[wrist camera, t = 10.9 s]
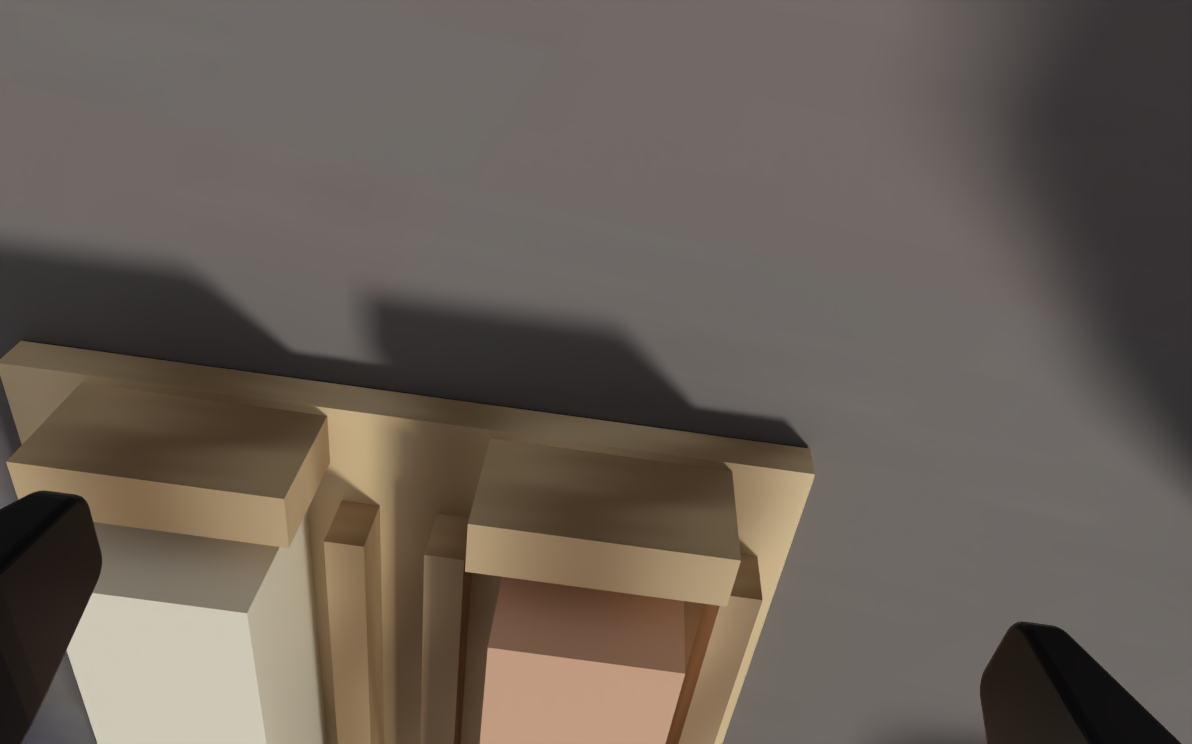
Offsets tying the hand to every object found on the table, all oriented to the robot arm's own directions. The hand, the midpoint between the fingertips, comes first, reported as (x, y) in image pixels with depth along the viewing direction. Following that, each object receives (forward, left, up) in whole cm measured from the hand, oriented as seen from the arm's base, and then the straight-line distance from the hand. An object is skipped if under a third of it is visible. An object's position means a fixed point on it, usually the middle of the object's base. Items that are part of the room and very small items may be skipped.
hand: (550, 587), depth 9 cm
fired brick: (-1, +18, -11) cm, 21 cm away
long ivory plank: (+9, +18, -11) cm, 23 cm away
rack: (+4, +18, -12) cm, 22 cm away
